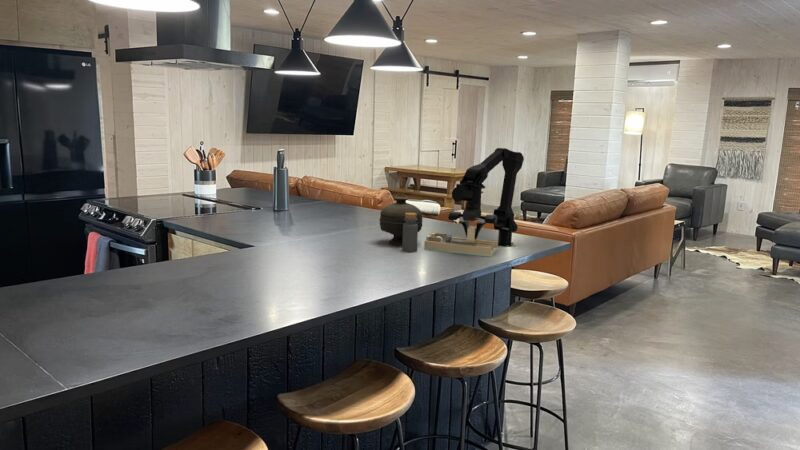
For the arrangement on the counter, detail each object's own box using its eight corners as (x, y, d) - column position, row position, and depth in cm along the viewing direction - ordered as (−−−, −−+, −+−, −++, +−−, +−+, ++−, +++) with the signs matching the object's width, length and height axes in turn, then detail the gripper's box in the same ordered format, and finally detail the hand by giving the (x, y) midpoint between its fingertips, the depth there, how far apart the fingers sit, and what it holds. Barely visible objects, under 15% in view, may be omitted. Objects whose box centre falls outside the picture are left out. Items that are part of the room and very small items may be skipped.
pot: (370, 243, 237) (374, 195, 235) (387, 240, 254) (391, 194, 252) (411, 249, 231) (415, 199, 229) (426, 245, 248) (430, 199, 246)
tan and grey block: (448, 244, 240) (449, 224, 238) (476, 247, 236) (477, 226, 234) (445, 246, 235) (446, 225, 233) (473, 249, 231) (474, 228, 230)
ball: (438, 234, 240) (445, 238, 239) (434, 241, 241) (441, 245, 240) (435, 235, 236) (443, 240, 236) (431, 242, 237) (438, 247, 237)
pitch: (434, 243, 246) (434, 235, 246) (497, 250, 237) (498, 241, 237) (424, 249, 233) (424, 241, 233) (490, 256, 224) (491, 248, 224)
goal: (433, 241, 244) (433, 232, 244) (446, 243, 242) (447, 233, 242) (425, 246, 235) (426, 236, 234) (440, 247, 233) (440, 238, 232)
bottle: (415, 252, 227) (417, 215, 224) (400, 251, 228) (402, 214, 225) (418, 249, 233) (419, 212, 230) (403, 248, 234) (405, 211, 231)
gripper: (445, 200, 226) (443, 239, 229) (493, 204, 220) (490, 244, 223) (453, 197, 236) (451, 235, 239) (498, 201, 230) (496, 239, 233)
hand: (471, 238), depth 233 cm, fingers closed on tan and grey block, 3 cm apart
